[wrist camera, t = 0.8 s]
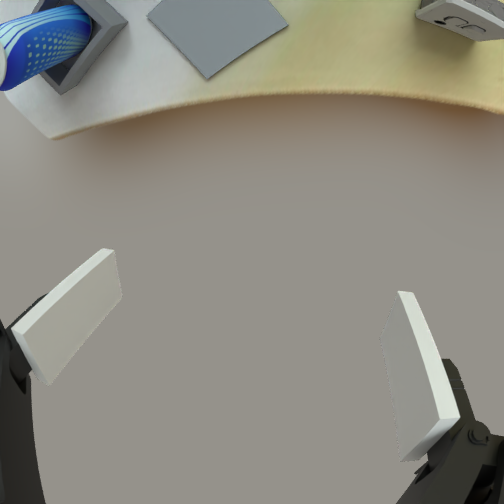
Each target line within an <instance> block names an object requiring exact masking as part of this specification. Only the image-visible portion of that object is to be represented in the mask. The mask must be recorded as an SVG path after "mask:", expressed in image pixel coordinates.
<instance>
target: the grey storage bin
mask: <svg viewBox="0 0 504 504" xmlns="http://www.w3.org/2000/svg"><path fill="white" fill-rule="evenodd" d="M60 1H61V0H39V2H38V3H37V5H36V7H35V8H34V10H33V12H32V13H31V14H34V13H37V12H41V11H44V10H48V9H52V8H56V6H57V5H58V4H59V2H60ZM73 1H75V2H76V3H77V4H78V5H79V6H80V7H81V8H82V9H83V10H84V11H85V12H86V13H88V14H89V15H90V16H91V17H92V18H93V19H94V20H95V21H96V22H97V23H98V24H99V25H100V26H101V27H102V28H101V29H100V31H99V32H98V33H97V34H96V35H95V37H94V38H93V39H92V41H91V42H90V43H89V44H88V46H87V47H86V48H85V50H84V51H83V52H82V54H81V55H80V57H79V58H78V59H77V61H76V62H75V64H74V65H73V66H72V68H71V69H70V71H69V70H68V69H67V68H66V67H65V66H64V65H63V64H62V63H58V64H56V65H54V66H52V67H50V68H48V69H46V70H44V71H42V72H40V73H39V74H40V75H41V76H42V77H43V78H44V79H45V80H46V81H47V82H48V83H49V84H50V85H51V86H52V87H53V88H54V89H55V90H56V91H57V92H58V93H59V94H60V95H62V94H63V93H65V92H67V91H68V90H70V89H72V88H73V87H75V86H77V84H78V83H79V81H80V80H81V79H82V77H83V76H84V74H85V73H86V72H87V70H88V69H89V68H90V66H91V65H92V64H93V62H94V61H95V60H96V59H97V57H98V56H99V55H100V54H101V52H102V51H103V50H104V49H105V48H106V46H107V45H108V44H109V43H110V42H111V40H112V39H113V38H114V37H115V36H116V35H117V34H118V33H119V31H120V30H121V29H122V28H123V27H124V26H125V25H126V24H127V23H128V21H127V20H126V19H124V18H123V17H122V16H121V15H120V14H119V13H118V12H117V11H116V10H115V9H114V8H113V7H112V6H111V5H110V4H108V3H107V2H106V1H105V0H73Z"/></svg>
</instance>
